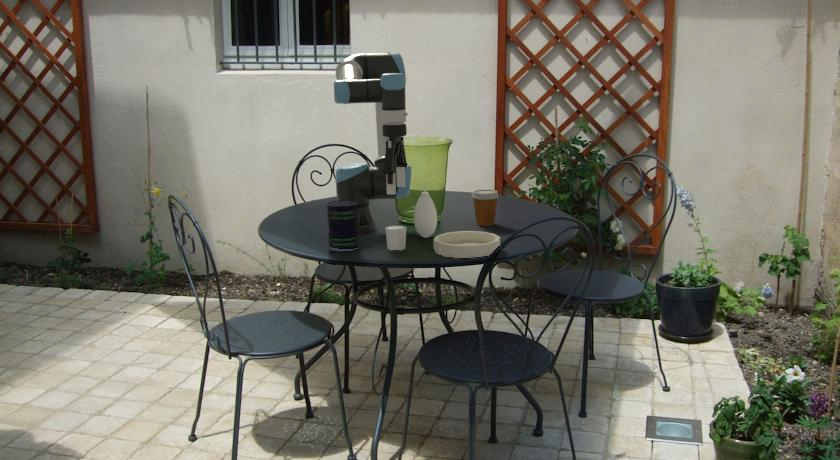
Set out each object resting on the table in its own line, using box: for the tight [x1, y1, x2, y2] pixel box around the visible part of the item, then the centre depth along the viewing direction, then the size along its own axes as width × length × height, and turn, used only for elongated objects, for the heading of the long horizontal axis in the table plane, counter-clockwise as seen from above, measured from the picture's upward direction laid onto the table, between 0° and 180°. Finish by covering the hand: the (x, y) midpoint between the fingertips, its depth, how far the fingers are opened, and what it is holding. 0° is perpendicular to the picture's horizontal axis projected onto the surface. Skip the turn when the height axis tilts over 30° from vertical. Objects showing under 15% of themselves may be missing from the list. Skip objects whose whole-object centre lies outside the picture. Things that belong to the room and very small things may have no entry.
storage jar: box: [326, 200, 360, 249], centre depth 285 cm, size 10×10×15 cm
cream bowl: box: [432, 230, 501, 259], centre depth 279 cm, size 20×20×4 cm
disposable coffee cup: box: [471, 189, 499, 227], centre depth 315 cm, size 10×10×12 cm
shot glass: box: [384, 225, 408, 251], centre depth 284 cm, size 7×7×7 cm
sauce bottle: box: [413, 184, 438, 239], centre depth 297 cm, size 8×8×18 cm
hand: (396, 190), depth 281 cm, fingers open, 13 cm apart
